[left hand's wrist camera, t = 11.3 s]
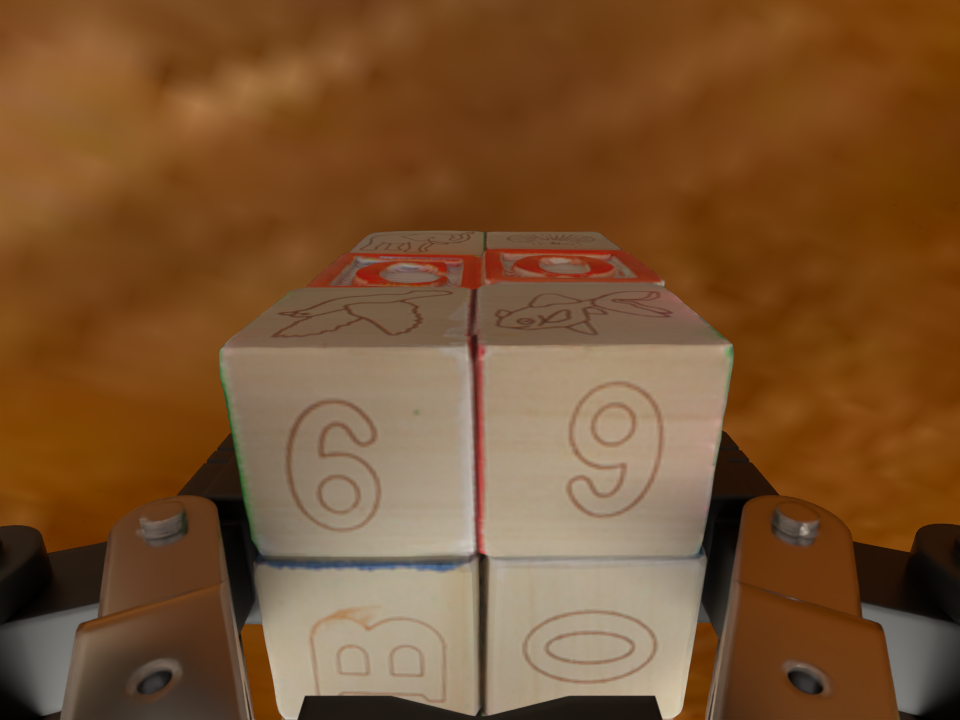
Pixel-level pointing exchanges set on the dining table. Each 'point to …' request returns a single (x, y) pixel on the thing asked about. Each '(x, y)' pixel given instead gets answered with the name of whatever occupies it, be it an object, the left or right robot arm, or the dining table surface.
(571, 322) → the stack of blocks
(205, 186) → the dining table surface
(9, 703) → the left robot arm
